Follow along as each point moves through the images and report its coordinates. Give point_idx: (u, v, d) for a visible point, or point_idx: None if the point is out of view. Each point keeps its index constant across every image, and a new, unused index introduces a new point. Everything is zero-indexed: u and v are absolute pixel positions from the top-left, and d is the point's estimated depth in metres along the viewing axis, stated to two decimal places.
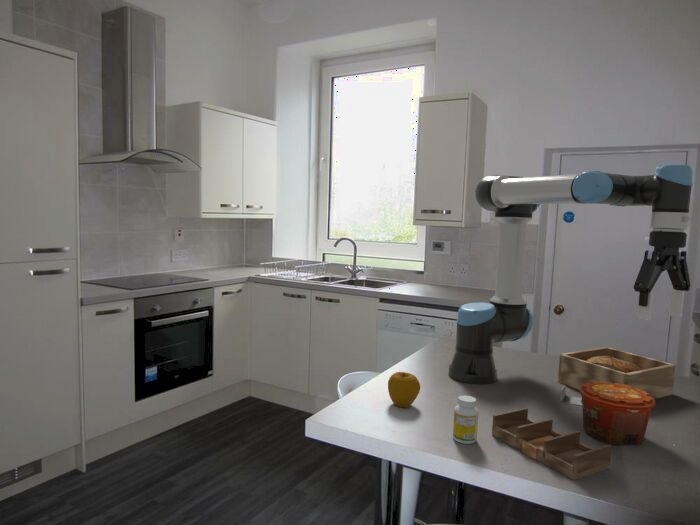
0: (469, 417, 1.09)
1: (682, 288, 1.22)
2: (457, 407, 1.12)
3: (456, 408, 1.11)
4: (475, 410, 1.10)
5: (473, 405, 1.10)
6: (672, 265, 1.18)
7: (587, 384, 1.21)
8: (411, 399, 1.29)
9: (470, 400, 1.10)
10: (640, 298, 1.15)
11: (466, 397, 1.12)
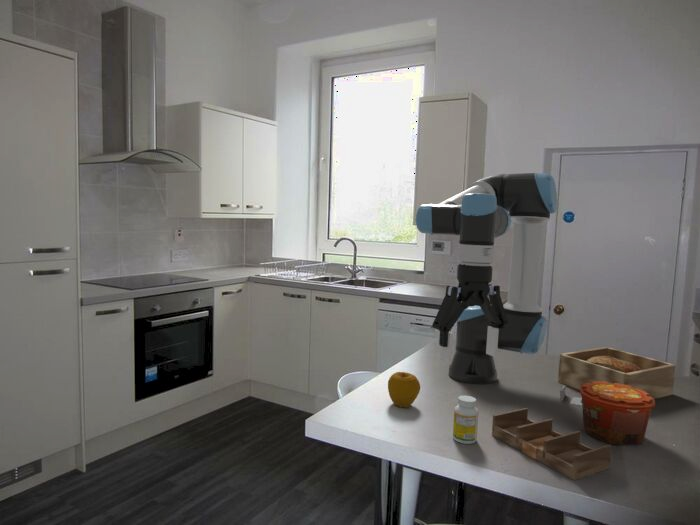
0: (469, 417, 1.09)
1: (497, 325, 1.13)
2: (457, 407, 1.12)
3: (456, 408, 1.11)
4: (475, 410, 1.10)
5: (473, 405, 1.10)
6: (480, 301, 1.09)
7: (587, 384, 1.21)
8: (411, 399, 1.29)
9: (470, 400, 1.10)
10: (440, 338, 1.06)
11: (466, 397, 1.12)
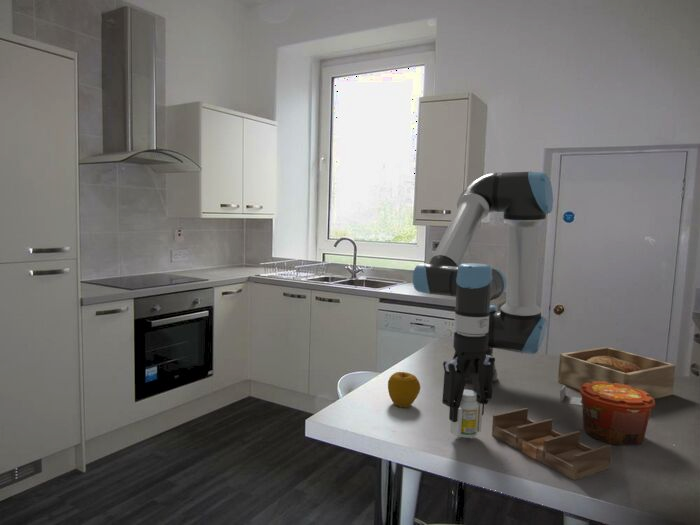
0: (470, 411, 1.09)
1: (481, 399, 1.13)
2: None
3: None
4: (476, 404, 1.11)
5: (473, 399, 1.10)
6: (476, 369, 1.11)
7: (587, 384, 1.21)
8: (411, 399, 1.29)
9: (471, 394, 1.10)
10: (450, 413, 1.10)
11: (467, 391, 1.13)
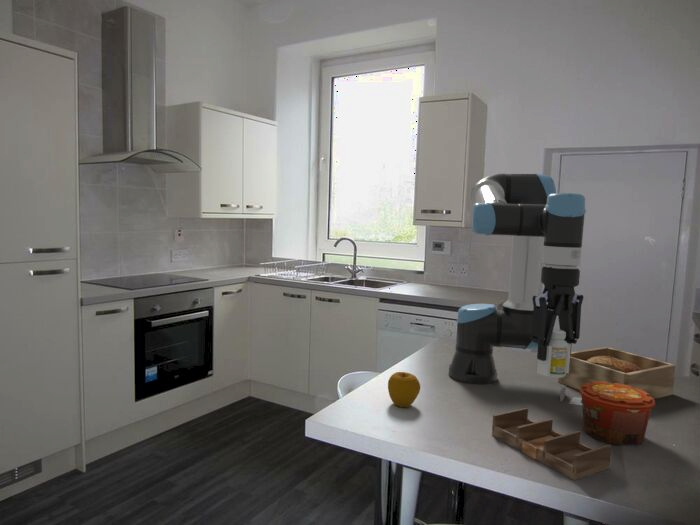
0: (560, 349, 1.04)
1: (569, 339, 1.07)
2: None
3: None
4: (565, 342, 1.05)
5: (563, 337, 1.04)
6: (566, 305, 1.05)
7: (587, 384, 1.21)
8: (411, 399, 1.29)
9: (560, 332, 1.05)
10: (538, 351, 1.04)
11: (554, 330, 1.07)
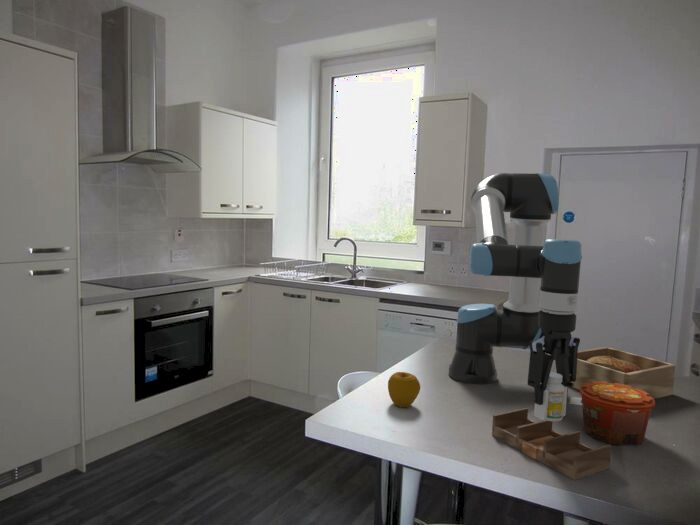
0: (556, 394, 1.04)
1: (565, 382, 1.08)
2: None
3: None
4: (562, 386, 1.05)
5: (560, 381, 1.05)
6: (562, 349, 1.06)
7: (587, 384, 1.21)
8: (411, 399, 1.29)
9: (557, 376, 1.05)
10: (535, 395, 1.05)
11: (551, 373, 1.07)
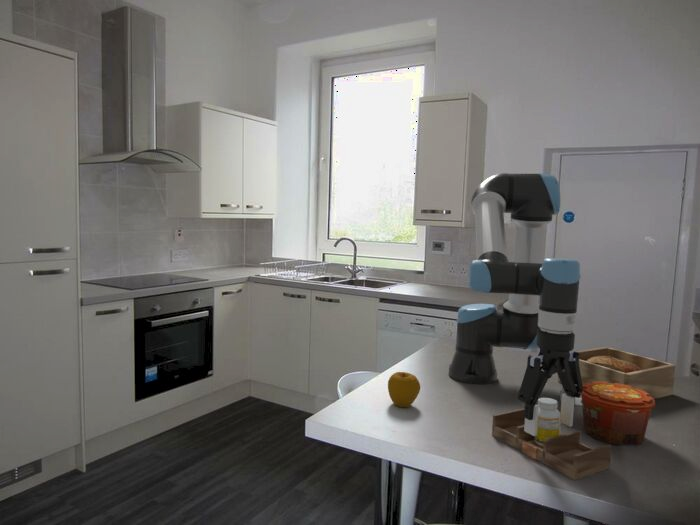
0: (552, 420, 1.05)
1: (572, 394, 1.09)
2: (538, 410, 1.08)
3: None
4: (557, 412, 1.06)
5: (555, 407, 1.06)
6: (561, 368, 1.06)
7: (587, 384, 1.21)
8: (411, 399, 1.29)
9: (552, 402, 1.06)
10: (525, 410, 1.04)
11: (546, 399, 1.08)
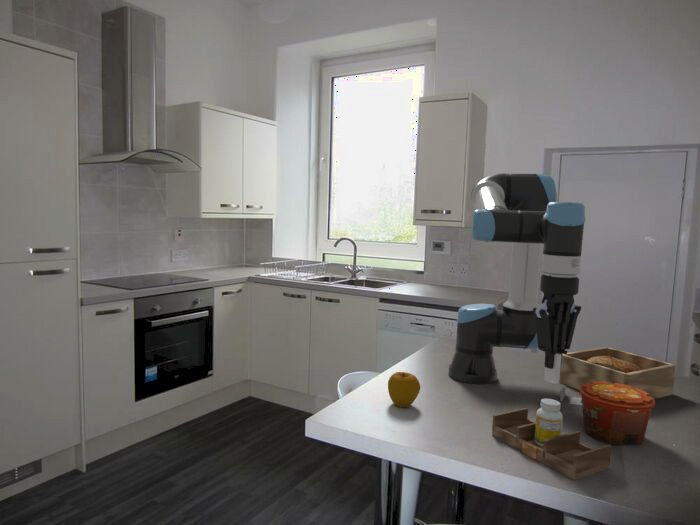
0: (554, 422, 1.05)
1: (560, 348, 1.06)
2: (540, 410, 1.07)
3: (539, 411, 1.07)
4: (560, 414, 1.06)
5: (558, 409, 1.06)
6: None
7: (587, 384, 1.21)
8: (411, 399, 1.29)
9: (555, 404, 1.06)
10: (546, 359, 1.06)
11: (549, 400, 1.08)
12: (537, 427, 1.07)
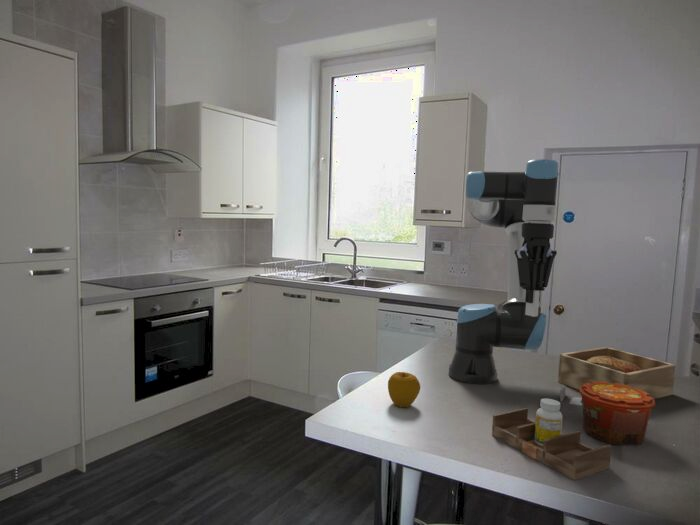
0: (554, 421, 1.05)
1: (538, 286, 1.24)
2: (540, 410, 1.08)
3: (539, 411, 1.07)
4: (559, 414, 1.06)
5: (558, 408, 1.06)
6: None
7: (587, 384, 1.21)
8: (411, 399, 1.29)
9: (555, 404, 1.06)
10: (526, 295, 1.24)
11: (549, 400, 1.08)
12: (537, 427, 1.07)
